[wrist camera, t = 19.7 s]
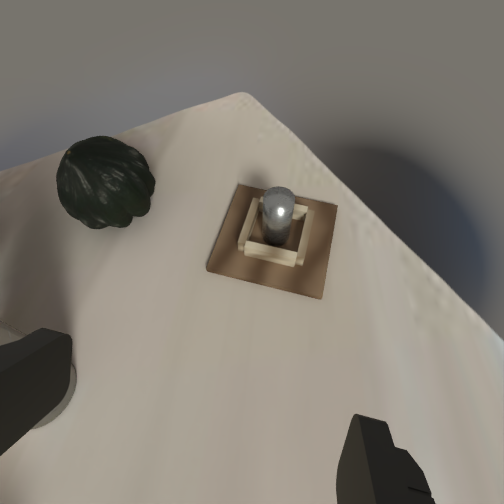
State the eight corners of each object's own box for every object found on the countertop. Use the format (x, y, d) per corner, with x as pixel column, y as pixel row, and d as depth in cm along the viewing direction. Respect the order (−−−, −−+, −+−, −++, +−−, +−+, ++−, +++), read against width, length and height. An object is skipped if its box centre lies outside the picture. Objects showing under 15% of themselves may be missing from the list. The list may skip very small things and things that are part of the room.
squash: (166, 146, 59) (80, 95, 48) (175, 213, 52) (77, 172, 41) (121, 190, 66) (37, 155, 55) (124, 255, 59) (28, 229, 48)
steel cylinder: (258, 242, 54) (259, 206, 46) (266, 221, 56) (268, 183, 48) (285, 249, 53) (290, 214, 45) (292, 227, 55) (298, 190, 48)
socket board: (206, 271, 52) (204, 259, 49) (239, 188, 61) (238, 174, 58) (320, 299, 50) (325, 289, 47) (336, 209, 59) (341, 196, 56)
